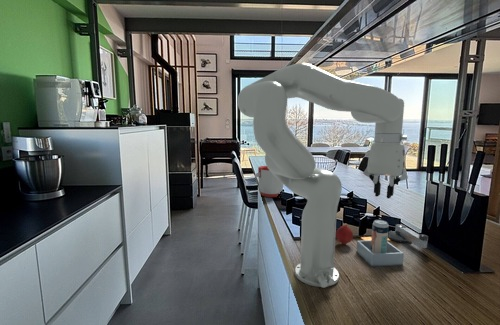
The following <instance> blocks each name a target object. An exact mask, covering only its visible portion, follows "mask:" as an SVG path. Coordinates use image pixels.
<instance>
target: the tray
mask: <svg viewBox="0 0 500 325" xmlns="http://www.w3.org/2000/svg"><path fill="white" fill-rule="evenodd" d="M355 251H356V253H357V254H358V255H359V256H360V257H361V258H363V260H364V261H366V262H367V263H368V265H370V266H371V267H372V268H373V267H391V266H403V264H404V257H405V256H404V254H405V253H404V252H403V251H401V250H400V249H399V248H398V247H396V246H394V245H393V244H392V243H391V242H390V241H387V252H386V253H378V254H373V253H372V252H371V240H357V241H356V250H355Z"/></svg>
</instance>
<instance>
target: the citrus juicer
mask: <svg viewBox="0 0 500 325" xmlns="http://www.w3.org/2000/svg"><path fill="white" fill-rule="evenodd" d="M254 177H255V178H258V187H259V193H260V194H261V196H263V197H265V198H278V197H277V196H278V194H279V193H280V192H281V191H282V192H283V188H284V184H283V183H282V182H281V181H280V180H279V179H278V178H276V177H275V176H274V175H273V174H272V173H271V172H270V170H269V169H268V167H267V165H261V166H258V170H257V173H256V174H255V176H254Z"/></svg>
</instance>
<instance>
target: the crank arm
mask: <svg viewBox="0 0 500 325" xmlns="http://www.w3.org/2000/svg"><path fill="white" fill-rule="evenodd" d="M394 230H395V233H396V234H398V235H400V236H402V237H404V238H405V239H407V240H408V241H410V242H409V243H412V244H413V245H414V246H416V247H418V248H419V249H426V248H428V241H429V236H428V235H426V234H422V233H421V234H419V233H417V232H415V231H413V230H412V229H410V228H408V227H407V226H406V225H405V224H395V229H394Z"/></svg>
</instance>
